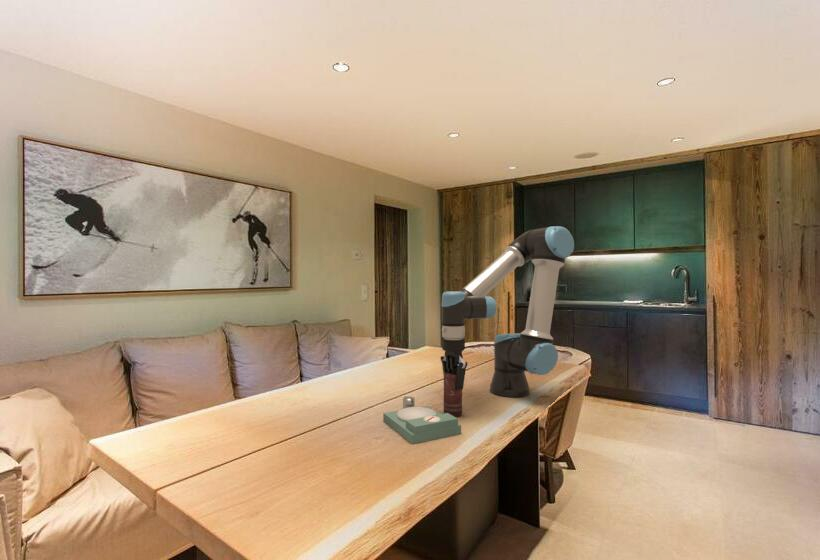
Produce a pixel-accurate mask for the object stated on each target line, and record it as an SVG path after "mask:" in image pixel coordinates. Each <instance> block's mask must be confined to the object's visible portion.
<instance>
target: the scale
mask: <svg viewBox="0 0 820 560" xmlns="http://www.w3.org/2000/svg"><path fill="white" fill-rule="evenodd" d="M458 418H459V417H454V416H452V415H450V414H449V413H444V412H443V413H441V412H439V411H438V410H436V409H435V408H432V407H430V406H428V405H423V406H415V407H408V408H404V409H403V408H401V409H399V410H394V411H387V412H383V422H384V423H386V425H388V426H389V427H390V428H391V429H392V430H394V431H395V432H397V434H398V435H400V436H401V437H402V438H404V439H405V440H406V441H408V442H409V443H410V444H411V445H414V444H415V445H416V444H419V443H425V442H428V441H434V440H438V439H444V438H448V437H452V436H458V435H461V434H462V425H461V424H460V423H459V419H458Z"/></svg>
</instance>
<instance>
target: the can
mask: <svg viewBox="0 0 820 560" xmlns="http://www.w3.org/2000/svg"><path fill="white" fill-rule="evenodd" d="M456 375H457V374H456ZM456 375H452V373H447V371H446V372H445V374H443V414H444V413H449V414H450V415H452V416H454V417H456V418H459V417H461V416H462V415H463V389H461V390H455V383H456Z"/></svg>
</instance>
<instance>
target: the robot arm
mask: <svg viewBox="0 0 820 560" xmlns="http://www.w3.org/2000/svg"><path fill="white" fill-rule="evenodd" d="M503 250H504V251H503V253H501V254H500V255H499V257H497V258H496V259H495V260H494V261H493V262H491V263H490V264H489V265H488V266H487V267H486V268H484V270H482V271H481V272H480V273H479V274H478V275H476V277H474V278H473V279H472V280H471V281H470V282H469V283H467V284H466V285H465V286H464V287H462V289H461V290H459V291H456V290H455V291H444V292H443V293H441V294H442V295H441V303H440V304H441V305H440V306H441V327H442V328H441V337H442V339H441V349H442V351H444V355H442V356H440V361H441V365H442V373H443V375H444V374H445V372H446V371H447V373H452V375H456V374H457V375H456V383H455V390H461V389H462V390H464V385H465V376H466V370H467V367H468V362H467V361H464V357H463V351H465V348H466V342H465V341H466V340H465V336H466V324H465V321H466V320H476V319H477V320H478V319H481V320H482V319H484V320H486V319H489V318H490V319H491V318H493V317H494V316H495V315H496V313H497V311H498V310H497V301H496V300H495V298H494V297H492V296H489V295H488V294H489V292H491V291H492V290H493V289H494V288H495V287H496V286H497V285H498V284H500V283H501V282H502V281H504V279H505V278H507V276H509V275H510V273H512V272H513V271H514V270H516V268H517V267H522V266H523V265H525V264H526V263H528V262H529V261H531V263H532V264H533V265H534V271H533V277H532V284H531V290H530V296H529V303H528V309H527V316H526V323H525V329H524V330H523V331H521V332H520V333H518V332H517V333H501V334H497V335H495V336H494V342H493V347H494V351H493V352H494V359H493V360H494V361H493V363H494V370H493V371H494V372H493V375H492V379H491V382H490V386H489V391H490V393H491V394H493V395H496V396H498V397H499V396H501V397H507V398H521V397H523V398H524V397H526V396H529V394H530V385H529V383H528V380H527V376H526V372H528V373H530V374H531V375H537V376H544V375H548V374H549V373H550V372H551V371H553V370H554V368H555V367H556V366H557V362H558V359H559V353H558V352H559V351H557V348H556V347H555V345H553V343H554V337H553V336H552V335H551V326H552V319H553V313H554V308H555V307H554V306H555V300H556V293H557V287H558V279H559V275H560V274H559V273H560V269H561V268H562V267H564V266H565V263H566V259H567V258H568V257H570V256H571V255H572V254H573V252H574V250H575V240H574V237H573V235H572V234H571V232H570V231H569V230H568V229H567V228H566V227H564V226H561V225H560V226H559V225H558V226H557V225H556V226H548V227H542V228H534V229H530V230H527V231H526V232H523V233H521V235H519V236H518V237H516V238H515V239H514V240H512V242H510V243H509V244H508V245H506V247H505V248H504V249H503ZM487 295H488V296H487Z"/></svg>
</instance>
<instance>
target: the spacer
mask: <svg viewBox="0 0 820 560" xmlns="http://www.w3.org/2000/svg"><path fill="white" fill-rule="evenodd" d="M415 400H416V399H415V397H414V396H404V397H402V409H404V408H408V407H416V404H415V403H416V402H415Z"/></svg>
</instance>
